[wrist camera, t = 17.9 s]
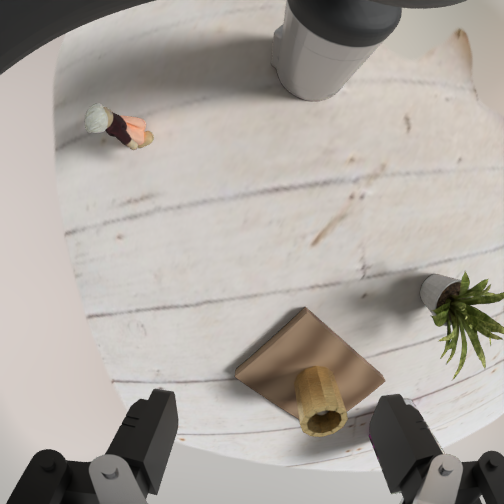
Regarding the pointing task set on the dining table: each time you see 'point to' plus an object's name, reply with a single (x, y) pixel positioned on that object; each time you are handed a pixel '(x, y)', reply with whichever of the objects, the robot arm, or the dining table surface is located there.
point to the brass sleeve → (319, 402)
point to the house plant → (460, 312)
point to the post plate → (307, 364)
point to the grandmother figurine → (118, 126)
